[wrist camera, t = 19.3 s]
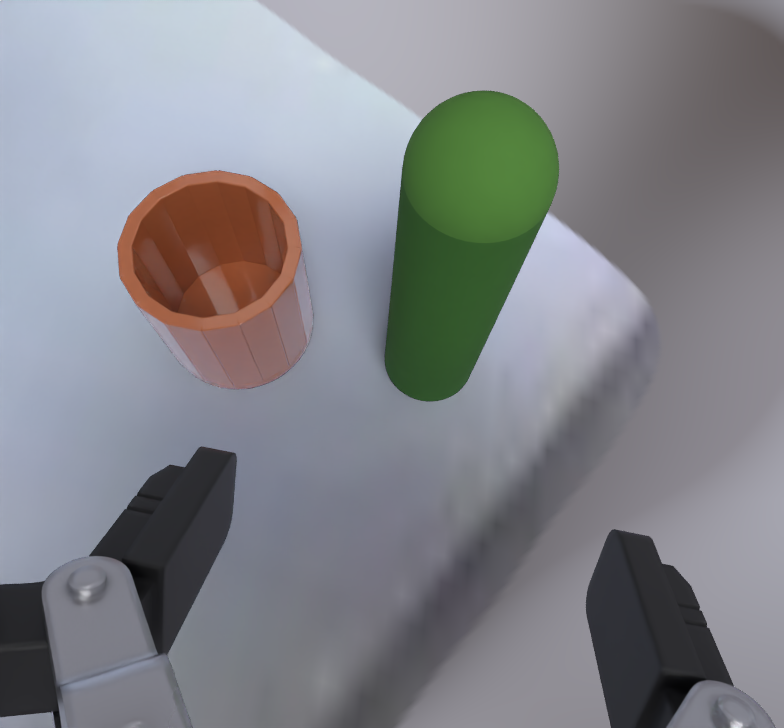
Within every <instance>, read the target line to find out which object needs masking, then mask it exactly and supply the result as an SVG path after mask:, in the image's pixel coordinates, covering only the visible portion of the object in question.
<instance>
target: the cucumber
mask: <svg viewBox="0 0 784 728" xmlns="http://www.w3.org/2000/svg"><path fill="white" fill-rule="evenodd" d="M558 176H559V161H558V153H557V149H556V145H555V142H554V139H553V137H552V134H551V132H550V130H549V129H548V127H547V125H546V124H545V122H544V121H543V120H542V118H541V117H540V116H539V115H538V114H537V113H536V112H535V111H534V110H533V109H532V108H531V107H529V106H528V105H527V104H525V103H524V102H522V101H520V100H519V99H517V98H515V97H513V96H510V95H507V94H504V93H500V92H495V91H472V92H467V93H463V94H459V95H456V96H454V97H452V98H450V99H448V100H446V101H444V102H442V103H441V104H439V105H438V106H436V107H435V108H434V109H433V110H431V112H429V113H428V114H427V115H426V116H425V117H424V118H423V119H422V121H421V122H420V124H419V125H418V126H417V128H416V129H415V131H414V132H413V134H412V136H411V138H410V140H409V143H408V145H407V148H406V151H405V155H404V161H403V167H402V178H401V188H400V199H399V210H398V221H397V231H396V242H395V253H394V263H393V274H392V285H391V295H390V306H389V317H388V328H387V338H386V349H385V366H386V370H387V373H388V375H389V377H390V379H391V381H392V382H393V384H394V385H395V386H396V387H397V388H398V389H399V390H400V391H401V392H403V393H404V394H406V395H408V396H409V397H412V398H414V399H417V400H421V401H439V400H443V399H446V398H449V397H451V396H452V395H454V394H456V393H457V392H458V391H459V390H460V389H461V388H462V387H463V386H464V385H465V384H466V382H467V380H468V379H469V377H470V374H471V372H472V370H473V368H474V366H475V364H476V362H477V360H478V358H479V355H480V353H481V351H482V349H483V347H484V345H485V343H486V341H487V339H488V336H489V334H490V332H491V330H492V328H493V326H494V324H495V322H496V320H497V318H498V315H499V313H500V311H501V309H502V307H503V305H504V303H505V301H506V299H507V296H508V294H509V292H510V290H511V288H512V286H513V284H514V282H515V280H516V277H517V275H518V273H519V271H520V269H521V267H522V265H523V263H524V261H525V258H526V256H527V254H528V252H529V250H530V248H531V246H532V244H533V242H534V239H535V237H536V235H537V233H538V231H539V229H540V227H541V225H542V223H543V220H544V218H545V216H546V214H547V212H548V210H549V208H550V206H551V203H552V201H553V198H554V195H555V192H556V189H557V184H558Z"/></svg>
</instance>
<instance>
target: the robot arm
mask: <svg viewBox="0 0 784 728" xmlns="http://www.w3.org/2000/svg"><path fill="white" fill-rule="evenodd" d="M236 464H237V457H236V454H235V453H232V452H227V451H222V450H217V449H212V448H207V447H202V446H201V447H200V448H198V450H197V451H196V452H195V454H194V455H193V457H192V458H191V460H190V461H189V462H188V464H187V465H186V467H180V466H175V465H169V466H167V467H165V468H164V469H162V470H160V471H159V472H157V473H155V474H154V475H152V476H150V477H149V479H148V480H147V481H146V482H145V484H144V485H143V486H142V488H141V489H140V490H139V492H138V494H137V496H135V497H134V498H133V499H132V501H131V502H130V503H129V505H128V507H127V509H125V510H124V511H123V512H122V514H121V515H120V516H119V518H118V519H117V520H116V521H115V523H114V524H113V525H112V527H111V528H110V529H109V531H108V532H107V533H106V535H105V536H104V537H103V538H102V540H101V541H100V542H99V544H98V545H97V546H96V548H95V549H94V550H93V551H92V553H91V554H90V555H89V557H83V558H79V559H75V560H72V561H70V562H67V563H65V564H64V565H62V566H60V567H59V568H57V569H56V570H54V571H53V572H52V573H51V574H50V575H49V576H48V578H47V579H46V580H45V581H42V582H36V583H23V584H3V585H0V717H6V716H16V715H26V714H36V713H46V712H51V714H52V720H53V726H54V728H193V727H192V724H191V721H190V718H189V715H188V712H187V709H186V706H185V703H184V701H183V698H182V695H181V692H180V689H179V686H178V683H177V680H176V677H175V674H174V672H173V669H172V666H171V663H170V661H169V658H168V656H167V654H168V652H169V650H170V648H171V646H172V644H173V642H174V640H175V638H176V636H177V634H178V632H179V630H180V628H181V626H182V624H183V622H184V620H185V618H186V616H187V615H188V613H189V611H190V609H191V607H192V605H193V603H194V601H195V599H196V597H197V595H198V593H199V591H200V589H201V587H202V585H203V583H204V581H205V579H206V577H207V575H208V573H209V571H210V569H211V567H212V565H213V563H214V561H215V559H216V557H217V555H218V553H219V551H220V550H221V548H222V546H223V544H224V542H225V539H226V537H227V534H228V531H229V528H230V524H231V520H232V514H233V503H234V490H235V477H236ZM699 608H700V606H699V604H698V601H697V599H696V597H695V594H694V592H693V590H692V588H691V586H690V584H689V583H688V582H687V581H686V580H685V579H684V578H683V577H682V576H681V574H680V573H679V572H678V571H677V570H676V569H675V568H674V567H673V566H671V565H666V564H662V563H661V560H660V558H659V555H658V553H657V550H656V547H655V545H654V543H653V540H652V539H651V538H650V537H649V536H645V535H639V534H634V533H629V532H625V531H619V530H615V529H614V530H612V531H611V532H610V533H609V535H608V537H607V539H606V541H605V544H604V547H603V549H602V552H601V555H600V557H599V560H598V563H597V565H596V568H595V570H594V573H593V576H592V578H591V581H590V584H589V587H588V591H587V597H586V614H587V619H588V623H589V628H590V633H591V637H592V642H593V647H594V651H595V656H596V660H597V665H598V670H599V674H600V679H601V683H602V688H603V693H604V697H605V702H606V706H607V711H608V716H609V720H610V725H611V728H775V725H774V723H773V722H772V720H771V718H770V717H769V715H768V714H767V713H766V712H765V710H764V709H763V708H762V707H761V706H760V705H759V704H758V703H757V702H756V701H755V700H754V699H752V698H751V697H750V696H748V695H747V694H746V693H744V692H743V691H741V690H739V689H737V688H735V687H734V685H733V683H732V680H731V678H730V676H729V673H728V671H727V669H726V666H725V664H724V662H723V660H722V657H721V655H720V653H719V650H718V648H717V646H716V643H715V641H714V639H713V636H712V634H711V632H710V629H709V628H707V623H706V620H705V618H704V616H703V613H702V611H700V610H699Z"/></svg>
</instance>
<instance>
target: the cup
mask: <svg viewBox="0 0 784 728" xmlns="http://www.w3.org/2000/svg"><path fill="white" fill-rule="evenodd" d="M117 250H118V263H119V276H120V279H121V281H122V282H123V284H124V286H125V287H126V289H127V291H128V292H129V294H130V296H131V297H132V299H133V301H134V302H135V304H136V305H137V307H138V308H139V309H140V311H141V312H142V313H143V315H144V316H145V317H146V319H147V320H148V321H149V323H150V324H151V325H152V327H153V328H154V329H155V331H156V332H157V333H158V335H159V336H160V337H161V339H162V340H163V341H164V343H165V344H166V345H167V347H168V348H169V349H170V350H171V352H172V353H173V354H174V356H175V357H176V358H177V360H178V361H179V362H180V364H181V365H182V366H184V367H185V368H186V369H187V370H188V371H189V372H190V373H191V374H193V375H194V376H195V377H197V378H198V379H200V380H202V381H204V382H206V383H208V384H211V385H213V386H217V387H221V388H227V389H247V388H253V387H258V386H261V385H264V384H267V383H269V382H271V381H273V380H275V379H277V378H279V377H280V376H282V375H283V374H285V373H286V372H287V371H288V370H290V369H291V368H292V367H293V366H294V365H295V364H296V363H297V361H298V360H299V359H300V358H301V356H302V355H303V353H304V352H305V350H306V348H307V346H308V344H309V341H310V338H311V334H312V329H313V310H312V304H311V298H310V292H309V286H308V280H307V274H306V268H305V262H304V256H303V250H302V245H301V239H300V233H299V228H298V222H297V219H296V217H295V215H294V214H293V213H292V211H291V210H290V208H289V207H288V206H287V204H286V203H285V201H284V200H283V199H282V197H281V196H280V195H279V194H278V193H277V192H276V191H274V190H272V189H271V188H269V187H267V186H266V185H264V184H263V183H261V182H259V181H258V180H256V179H254V178H253V177H250V176H246V175H241V174H235V173H230V172H225V171H220V170H219V171H217V170H215V171H208V172H201V173H194V174H187V175H184V176H180V177H178V178H176V179H174V180H172V181H170V182H168V183H166V184H164V185H162V186H160V187H158V188H156V189H154V190H153V191H152V192H150V193H149V194H148V196H147V197H146V198H145V199H144V200H143V201H142V202H141V203H140V204H139V205H138V206H137V207H136V208H135V209H134V210H133V211H132V212H131V213H130V215H129V216H128V218H127V221H126V224H125V226H124V229H123V231H122V234H121V237H120V239H119V242H118V246H117Z"/></svg>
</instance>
